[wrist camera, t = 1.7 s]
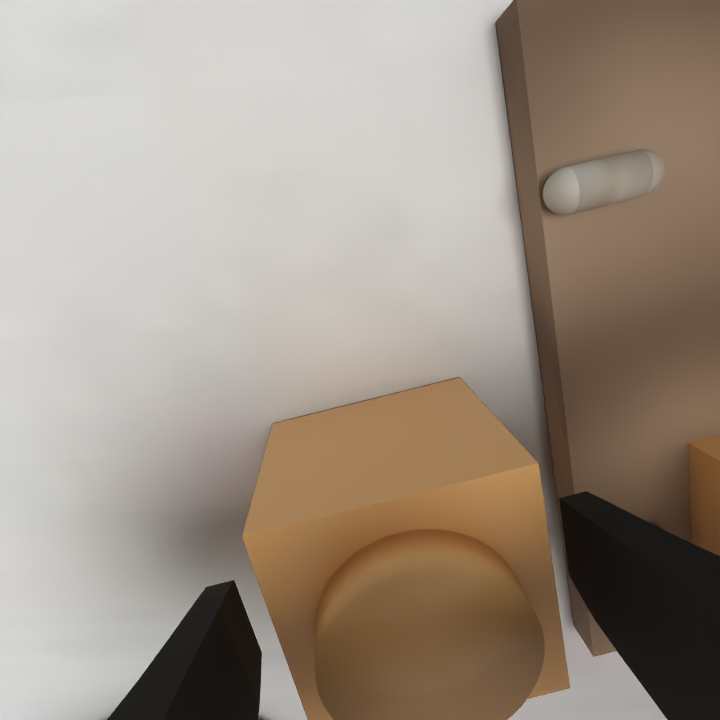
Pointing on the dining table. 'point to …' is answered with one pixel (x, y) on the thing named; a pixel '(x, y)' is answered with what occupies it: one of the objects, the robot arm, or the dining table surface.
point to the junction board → (623, 250)
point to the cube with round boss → (407, 560)
